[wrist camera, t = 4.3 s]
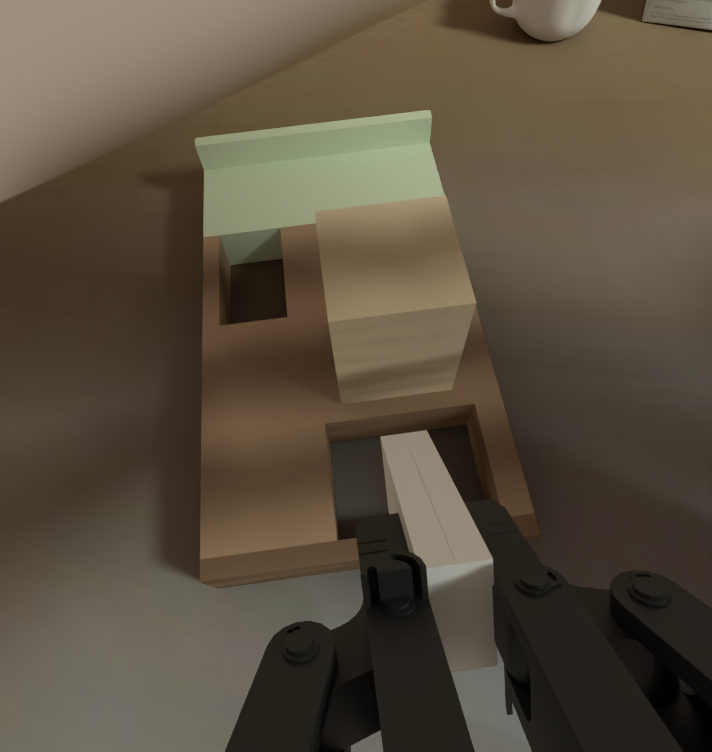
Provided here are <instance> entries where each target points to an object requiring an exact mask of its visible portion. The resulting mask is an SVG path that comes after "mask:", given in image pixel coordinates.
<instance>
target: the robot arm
mask: <svg viewBox="0 0 712 752" xmlns="http://www.w3.org/2000/svg"><path fill="white" fill-rule="evenodd" d="M380 438H381V447H382V456H383V465H384V474H385V483H386V492H387V502H388V511H389V514H388V515H381V516H374V517H367V518H362V519H361V521H360V522H359V524H358V526H357V528H356V530H355V531H356V539H357V547H358V555H359V563H360V571H361V582H362V589H363V604H362V607H361V609H360V610H359V612H358V613H357V615H356V616H355V617H353V618H352V619H351V620H350V621H349V622H347V623H345V624H343V625H342V626H340V627H337V628H335V629H333V630H330V629H328V628H327V627H325V626H324V625H322V624H321V623H317V622H312V621H304V622H296V623H294V624H291V625H289V626H286V627H284V628H283V629H281V630H280V631H279V632H278V633H277V634H275V635H274V636H273V638H272V639H271V641H270V642H269V644H268V645H267V648H266V650H265V653H264V655H263V658H262V660H261V663H260V665H259V668H258V670H257V673H256V675H255V678H254V680H253V683H252V685H251V688H250V690H249V693H248V695H247V698H246V700H245V703H244V705H243V708H242V710H241V713H240V715H239V718H238V720H237V723H236V725H235V728H234V730H233V733H232V735H231V738H230V740H229V743H228V745H227V748H226V750H225V752H351V745H353V744H355V743H357V742H359V741H360V740H362V739H364V738H366V737H368V736H370V735H372V734H374V733H376V732H378V731H379V730H381V736H382V743H383V751H384V752H475V751H474V748H473V745H472V741H471V738H470V735H469V731H468V728H467V725H466V721H465V718H464V715H463V711H462V708H461V705H460V701H459V698H458V695H457V691H456V688H455V685H454V681H453V678H452V675H451V672H456V671H463V670H469V669H476V668H482V667H489V666H495V665H497V648H498V650H499V653H500V655H501V657H502V660H503V662H504V674H505V701H506V710H507V715H511V714H513V712H512V702H513V705H514V707H515V710H516V712H517V715H518V717H519V720H520V722H521V725H522V727H523V730H524V732H525V735H526V737H527V740H528V742H529V745H530V747H531V750H532V752H712V609H711V608H710V607H708V606H707V605H705V604H704V603H703V602H701V601H700V600H698V599H697V598H696V597H694V596H693V595H691V594H690V593H689V592H687V591H686V590H684V589H683V588H682V587H680V586H679V585H677V584H676V583H674V582H673V581H671V580H669V579H667V578H665V577H663V576H661V575H658V574H654V573H651V572H648V571H635V570H633V571H628V572H622V573H620V574H619V575H617V576H616V577H614V578H613V580H612V583H611V585H610V590H604V589H593V588H584V587H578V586H574V585H570V584H569V583H568V582H567V580H566V579H565V578H564V577H563V576H562V575H561V574H560V573H559V572H558V571H556V570H554V569H552V568H550V567H548V566H545V565H542V563H541V562H540V560H539V559H538V557H537V556H536V554H535V553H534V551H533V550H532V548H531V546H530V545H529V543H528V542H527V540H526V539H525V537H524V536H523V534H522V533H521V532H520V531H519V528H518V526H517V525H516V523H515V522H513V519H512V517H511V516H510V514H509V513H508V511H507V510H506V508H505V507H504V506H502V505H500V504H499V503H497V502H496V501H494V500H493V499H484V500H477V501H470V502H463V500H462V498H461V496H460V494H459V492H458V490H457V488H456V486H455V484H454V482H453V480H452V478H451V477H450V475H449V473H448V471H447V469H446V467H445V465H444V463H443V461H442V459H441V457H440V455H439V453H438V451H437V449H436V447H435V446H434V444H433V442H432V440H431V438H430V436H429V434H428V432H427V430H425V431H418V432H410V433H403V434H396V435H388V436H381V437H380Z"/></svg>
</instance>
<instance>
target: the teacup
mask: <svg viewBox="0 0 712 752" xmlns="http://www.w3.org/2000/svg"><path fill="white" fill-rule="evenodd" d="M600 2H601V0H513V1H512V6H511V7H510V8H500V7H498V6H496V4H495V0H490V5H491V8H492V9H493V10H494V11H495V12H496V13H498V14H500V15H502V16H505V17H510V18H514V19H516V21H517V23H518V24H519V26H520V27H521V29H522V30H523V31H525V32H526V33H527V34H528V35H529V36H531V37H533V38H535V39H538V40H542V41H559V40H563V39H565V38H568V37H571V36H573V35H575V34H576V33H578V32H579V31H580V30H582V29H583V28H584V27H585V26H586V25H587V24H588V23H589V21H590V20H591V18H592V17H593V15H594V14H595V12H596V10H597V9H598V7H599V5H600Z"/></svg>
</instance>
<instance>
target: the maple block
mask: <svg viewBox="0 0 712 752" xmlns="http://www.w3.org/2000/svg"><path fill="white" fill-rule="evenodd" d="M315 219H316V228H317V236H318V244H319V252H320V260H321V268H322V277H323V285H324V293H325V301H326V309H327V317H328V325H329V331H330V337H331V344H332V350H333V356H334V363H335V369H336V375H337V382H338V388H339V394H340V401H341V404H348V403H356V402H363V401H371V400H378V399H386V398H394V397H401V396H409V395H416V394H424V393H431V392H439V391H446V390H452V388H453V384H454V381H455V377H456V373H457V370H458V366H459V363H460V359H461V356H462V352H463V349H464V345H465V342H466V338H467V335H468V331H469V328H470V324H471V321H472V317H473V314H474V310H475V307H476V299H475V296H474V292H473V289H472V285H471V282H470V278H469V275H468V271H467V268H466V264H465V261H464V257H463V254H462V250H461V247H460V243H459V240H458V236H457V233H456V229H455V226H454V222H453V219H452V215H451V212H450V208H449V205H448V201H447V198H446V195H444V196H436V197H428V198H420V199H412V200H404V201H396V202H388V203H380V204H372V205H364V206H356V207H348V208H339V209H331V210H323V211H315Z"/></svg>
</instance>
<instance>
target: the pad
mask: <svg viewBox="0 0 712 752" xmlns="http://www.w3.org/2000/svg"><path fill="white" fill-rule="evenodd" d="M431 124H432V115H431V112H430V110H425V111H416V112H408V113H400V114H391V115H383V116H375V117H366V118H358V119H350V120H341V121H333V122H325V123H316V124H308V125H300V126H291V127H283V128H275V129H266V130H258V131H250V132H241V133H233V134H225V135H216V136H208V137H200V138H195V147H196V150H197V153H198V155H199V158H200V161H201V164H202V166H203V169H204V219H203V237H210V236H218V235H219V237H220V240H221V242H222V245H223V247H224V250H225V253H226V255H227V258H228V260H229V263H230V265H238V264H245V263H253V262H261V261H269V260H277V259H283V255H282V243H281V230H280V228H282V227H290V226H298V225H306V224H314V223H316V219H315V211H323V210H331V209H339V208H348V207H356V206H364V205H372V204H380V203H388V202H396V201H404V200H412V199H420V198H428V197H436V196H444V192H443V188H442V185H441V181H440V178H439V174H438V171H437V167H436V164H435V160H434V157H433V153H432V150H431V146H430V134H431Z"/></svg>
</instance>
